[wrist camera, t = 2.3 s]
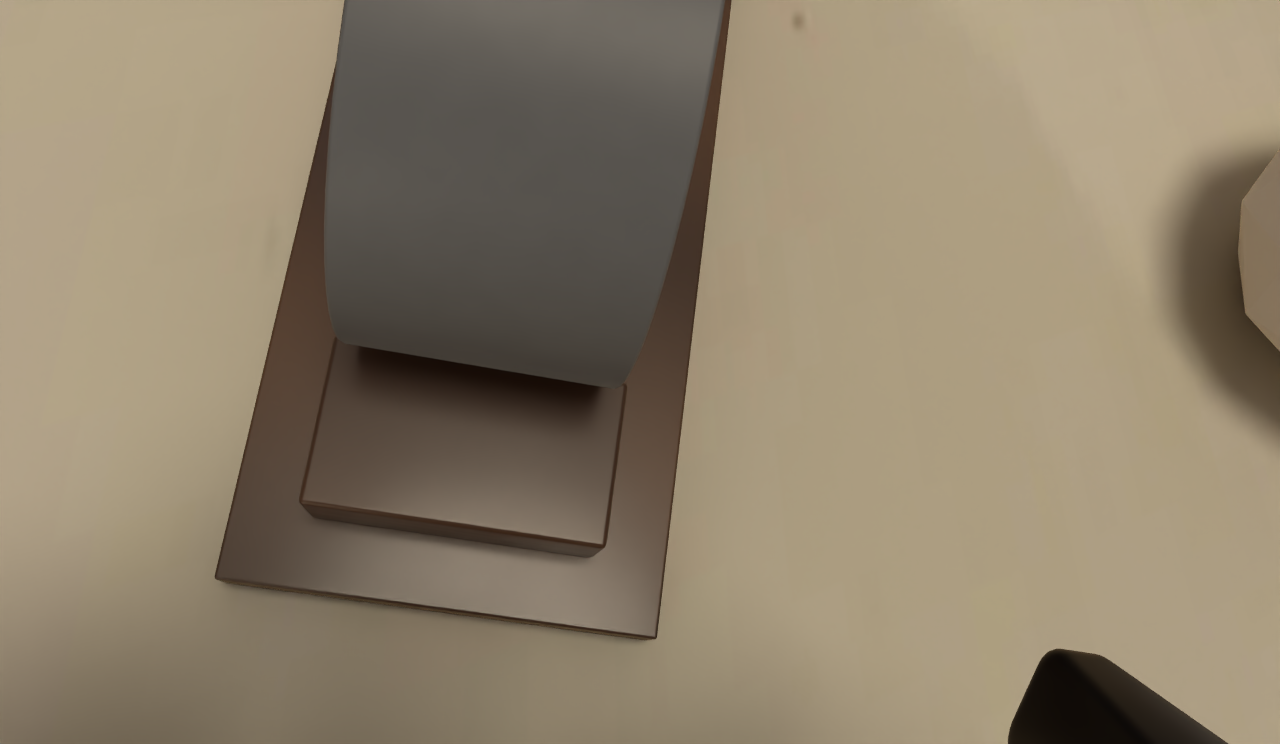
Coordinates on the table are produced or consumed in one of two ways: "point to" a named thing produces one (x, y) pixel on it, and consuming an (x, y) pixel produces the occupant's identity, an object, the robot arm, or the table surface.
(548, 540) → the holder
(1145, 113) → the table surface
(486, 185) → the tape roll
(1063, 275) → the table surface
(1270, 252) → the ball
